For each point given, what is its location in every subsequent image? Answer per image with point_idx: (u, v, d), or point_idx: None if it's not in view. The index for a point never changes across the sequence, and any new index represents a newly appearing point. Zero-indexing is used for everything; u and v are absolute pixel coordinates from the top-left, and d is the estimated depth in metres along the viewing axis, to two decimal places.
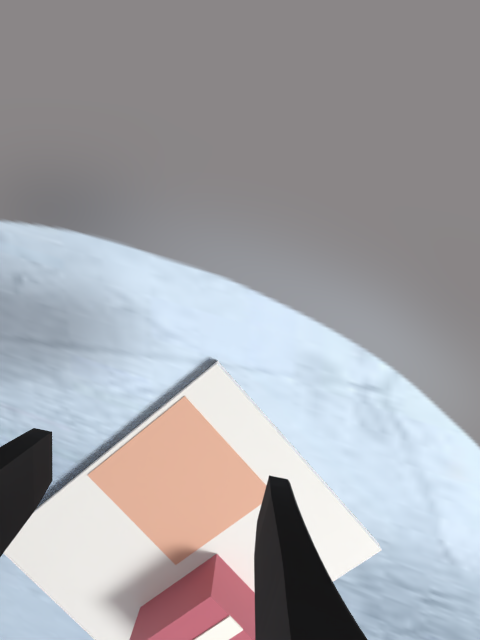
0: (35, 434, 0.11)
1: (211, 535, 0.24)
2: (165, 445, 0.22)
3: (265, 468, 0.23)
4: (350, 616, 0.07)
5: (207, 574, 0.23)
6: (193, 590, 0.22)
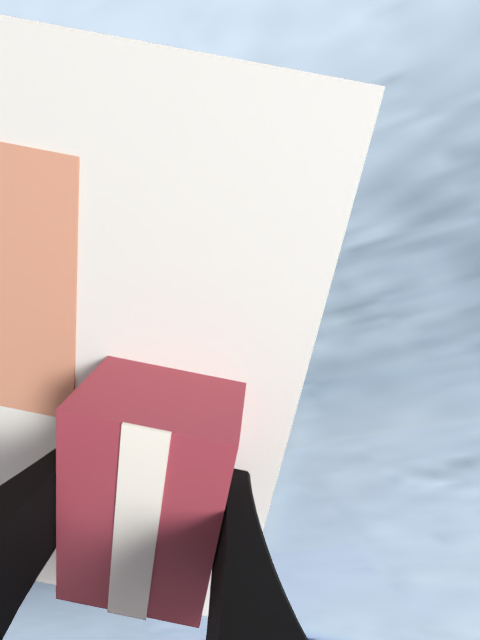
0: None
1: (68, 329, 0.11)
2: None
3: (15, 116, 0.09)
4: (286, 603, 0.07)
5: None
6: None
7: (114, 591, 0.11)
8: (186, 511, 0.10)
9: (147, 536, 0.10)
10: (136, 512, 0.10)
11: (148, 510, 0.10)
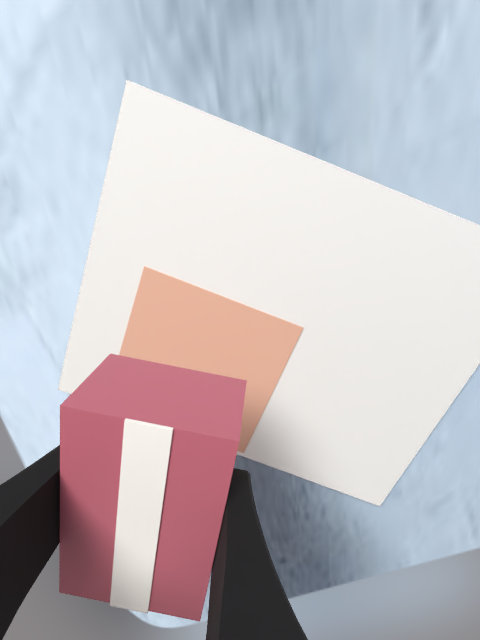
0: None
1: (239, 307, 0.18)
2: None
3: (123, 292, 0.18)
4: (286, 603, 0.07)
5: None
6: None
7: (116, 585, 0.11)
8: (188, 506, 0.10)
9: (149, 531, 0.10)
10: (138, 506, 0.10)
11: (150, 505, 0.10)
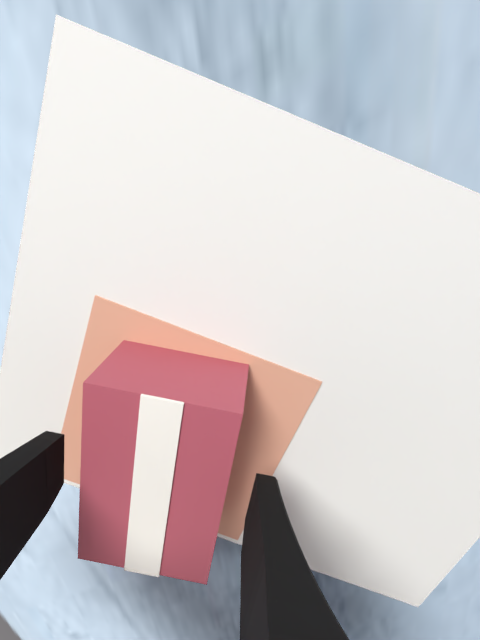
0: (48, 437, 0.11)
1: (231, 353, 0.13)
2: None
3: (67, 330, 0.13)
4: (330, 612, 0.07)
5: None
6: None
7: (131, 550, 0.12)
8: (196, 474, 0.11)
9: (161, 498, 0.11)
10: (152, 475, 0.11)
11: (162, 474, 0.11)
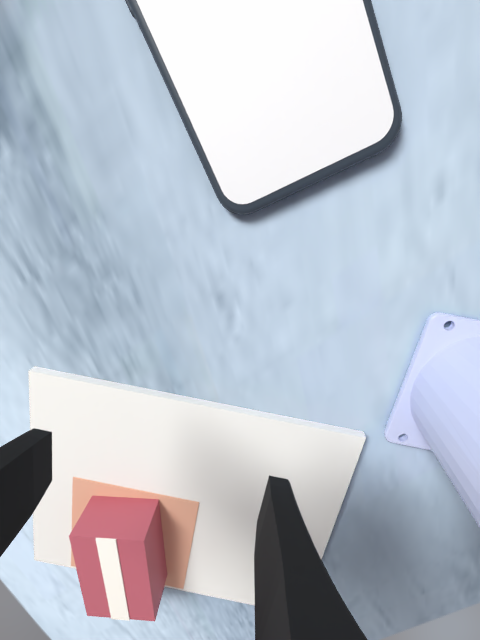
0: (35, 434, 0.11)
1: (148, 495, 0.24)
2: None
3: (62, 494, 0.24)
4: (350, 616, 0.07)
5: None
6: None
7: (111, 608, 0.23)
8: (132, 569, 0.22)
9: (118, 582, 0.22)
10: (111, 572, 0.22)
11: (116, 571, 0.22)
